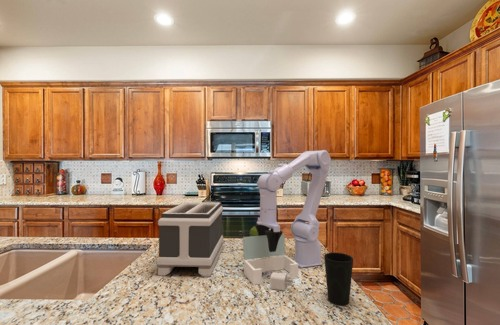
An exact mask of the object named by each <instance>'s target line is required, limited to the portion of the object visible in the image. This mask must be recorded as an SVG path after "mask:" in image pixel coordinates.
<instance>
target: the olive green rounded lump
mask: <svg viewBox="0 0 500 325" xmlns="http://www.w3.org/2000/svg"><path fill="white" fill-rule="evenodd" d="M252 236H259V235H258V232H257V229H256V227H255V225H254V226H252V227H251V228H250V231H249V237H252Z"/></svg>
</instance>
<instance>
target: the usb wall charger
mask: <svg viewBox="0 0 500 325" xmlns="http://www.w3.org/2000/svg"><path fill="white" fill-rule="evenodd" d="M269 281H270V284H269V285H270V287H269V288H270V289H271V290H276V291H282V292H283V291H284V292H285V291H286V289H287V286H291V287H294V286H295V285H294V284H296V281H295V280H293V279H288V274H287V273H285V272H284V273H283V272H277V271H272V273H271V274H270V280H269Z"/></svg>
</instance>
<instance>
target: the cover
mask: <svg viewBox="0 0 500 325" xmlns="http://www.w3.org/2000/svg"><path fill="white" fill-rule="evenodd" d="M242 245H243V246H242V249H243V260H252V259H259V258H267V257H275V256H282V255H286V242H285V233H284V232H283V233H282V235H281V237H280V239H279V241H278V245H277V248H276V252H269V247H268V239H267V235H262V236H252V237H250V236H243V237H242Z"/></svg>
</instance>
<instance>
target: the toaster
mask: <svg viewBox="0 0 500 325" xmlns="http://www.w3.org/2000/svg"><path fill="white" fill-rule="evenodd" d="M223 208H224V207H223V206H222V202H218V201H217V202H216V201H213V202H207V201H203V202H201V201H199V202H196V201H195V202H194V201H184V202H182V203H180V204H178V205H176V206H174V207H172V208H169V209H167V210H165V211H163V212H161V213H160V215H161V216H160V218H158V220H157V225H158V257H157V259H156V265H157V274H158V276H163V277H164V276H165V277H166V276H167V275H169V274H170V273H171V272H172V271H173V270H174V269H175V267H178V268H179V267H182V268H183V267H184V268H188V267H189V268H194V267H195V268H198V274H199V275H200V276H202V277H205V278H207V277H208V278H209V277H211V275H212V274H213V272H214V269H215V266H216V265H217V262H218V260H219V258H220V255H221V253H222V251H223V249H224V235H223V210H224V209H223Z"/></svg>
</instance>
